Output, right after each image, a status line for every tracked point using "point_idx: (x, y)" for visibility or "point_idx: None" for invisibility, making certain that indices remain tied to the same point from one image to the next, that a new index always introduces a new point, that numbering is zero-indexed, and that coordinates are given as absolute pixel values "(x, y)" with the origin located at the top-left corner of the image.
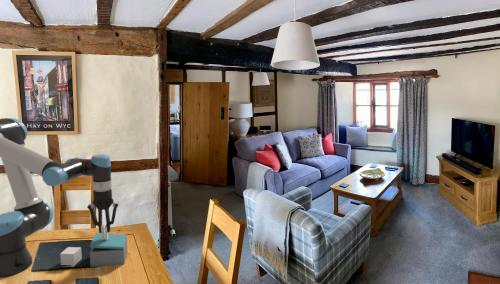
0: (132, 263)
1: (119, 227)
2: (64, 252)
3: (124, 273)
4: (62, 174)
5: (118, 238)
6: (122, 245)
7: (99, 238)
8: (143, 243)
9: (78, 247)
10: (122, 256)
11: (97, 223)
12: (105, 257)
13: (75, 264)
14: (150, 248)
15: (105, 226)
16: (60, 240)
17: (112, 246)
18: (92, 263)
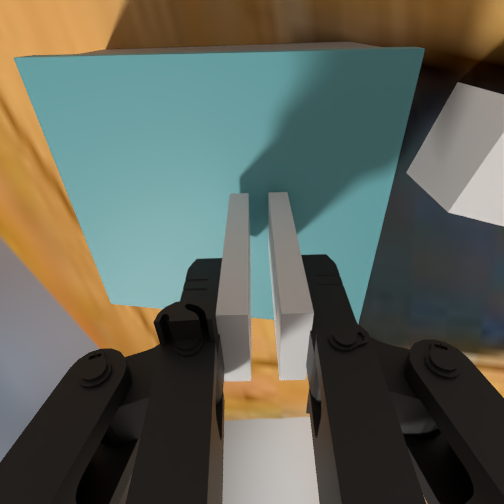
0: (43, 46)
1: (252, 413)
2: None
3: None
4: None
5: (149, 246)
6: (48, 99)
7: (317, 240)
8: (89, 289)
9: (466, 216)
10: (89, 53)
11: (399, 388)
12: (235, 49)
13: (452, 99)
14: (19, 235)
15: (237, 319)
16: (493, 358)
17: (138, 56)
18: (339, 43)
